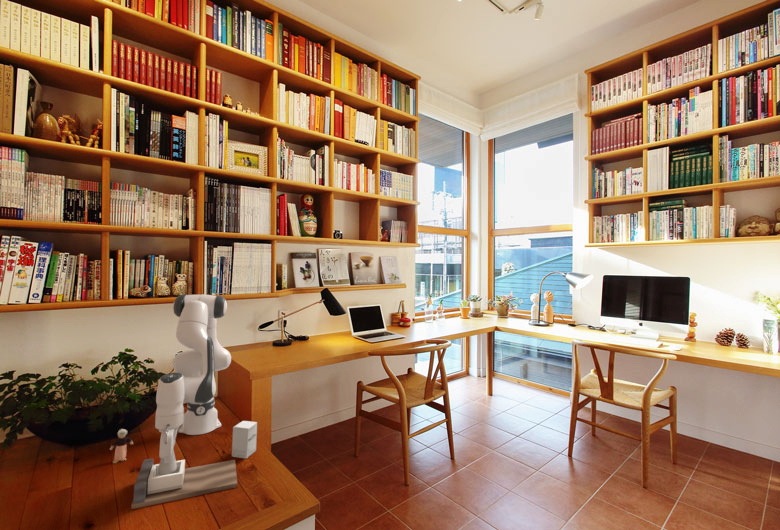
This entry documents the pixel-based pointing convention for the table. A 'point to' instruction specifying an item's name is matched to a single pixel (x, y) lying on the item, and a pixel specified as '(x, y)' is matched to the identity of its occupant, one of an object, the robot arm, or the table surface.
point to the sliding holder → (166, 479)
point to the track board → (186, 483)
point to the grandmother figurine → (121, 446)
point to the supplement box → (244, 439)
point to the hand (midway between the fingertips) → (168, 458)
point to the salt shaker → (167, 465)
